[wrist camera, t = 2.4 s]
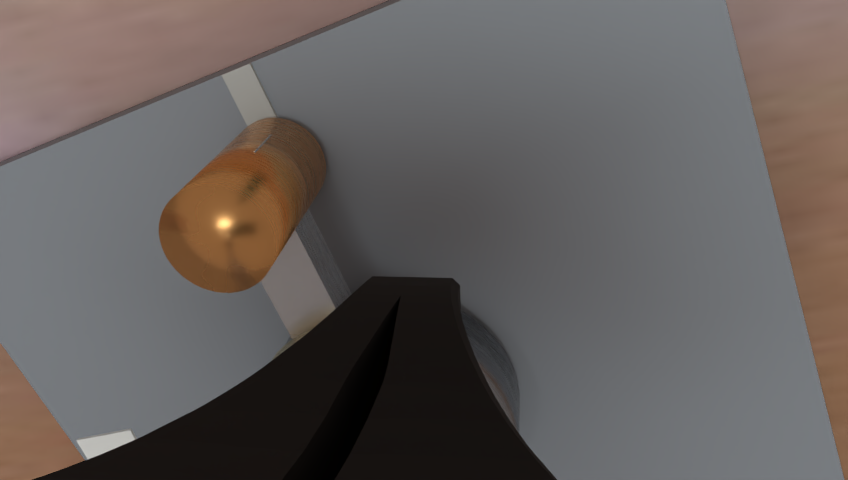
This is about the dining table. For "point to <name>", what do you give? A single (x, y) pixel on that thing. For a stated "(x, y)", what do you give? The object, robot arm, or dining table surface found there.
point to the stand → (455, 233)
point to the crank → (281, 239)
